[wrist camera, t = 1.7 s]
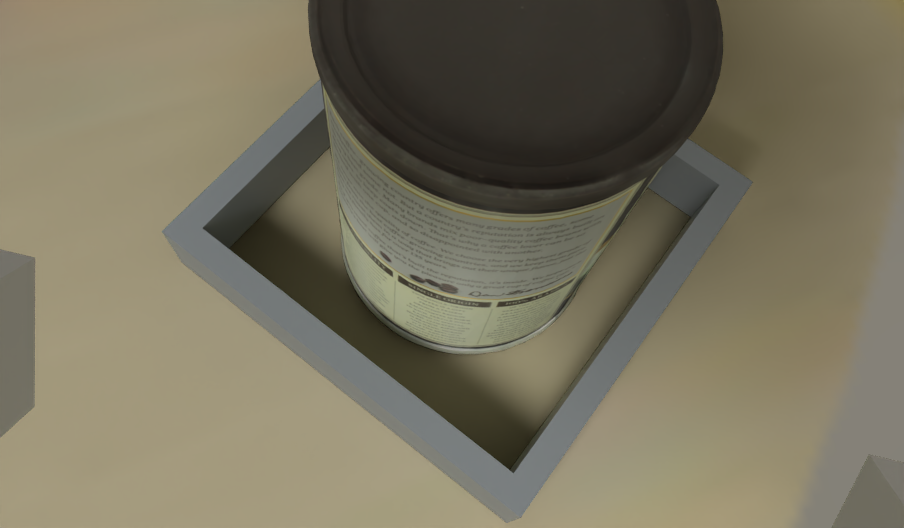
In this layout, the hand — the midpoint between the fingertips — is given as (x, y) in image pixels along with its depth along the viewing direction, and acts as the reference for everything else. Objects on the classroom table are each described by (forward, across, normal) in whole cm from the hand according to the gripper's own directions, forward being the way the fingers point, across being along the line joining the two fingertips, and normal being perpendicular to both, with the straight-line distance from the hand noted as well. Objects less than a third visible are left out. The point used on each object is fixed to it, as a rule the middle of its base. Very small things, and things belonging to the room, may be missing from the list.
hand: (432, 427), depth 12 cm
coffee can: (+20, 0, -4) cm, 20 cm away
